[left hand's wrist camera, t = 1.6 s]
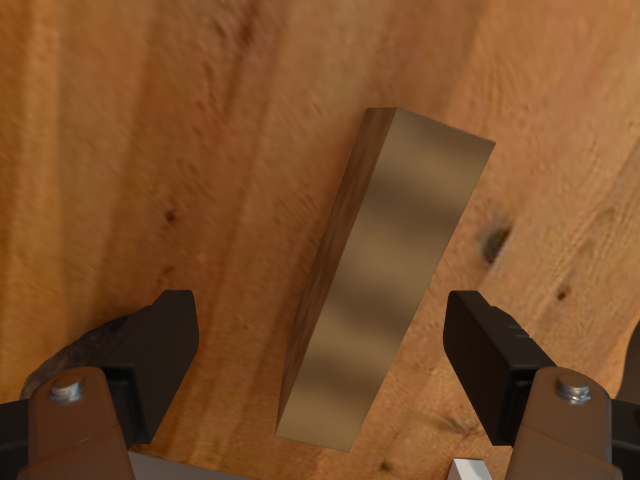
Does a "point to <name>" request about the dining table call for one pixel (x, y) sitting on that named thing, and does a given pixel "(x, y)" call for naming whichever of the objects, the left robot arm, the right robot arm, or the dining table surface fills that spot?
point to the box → (373, 269)
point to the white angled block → (468, 470)
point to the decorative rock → (72, 355)
